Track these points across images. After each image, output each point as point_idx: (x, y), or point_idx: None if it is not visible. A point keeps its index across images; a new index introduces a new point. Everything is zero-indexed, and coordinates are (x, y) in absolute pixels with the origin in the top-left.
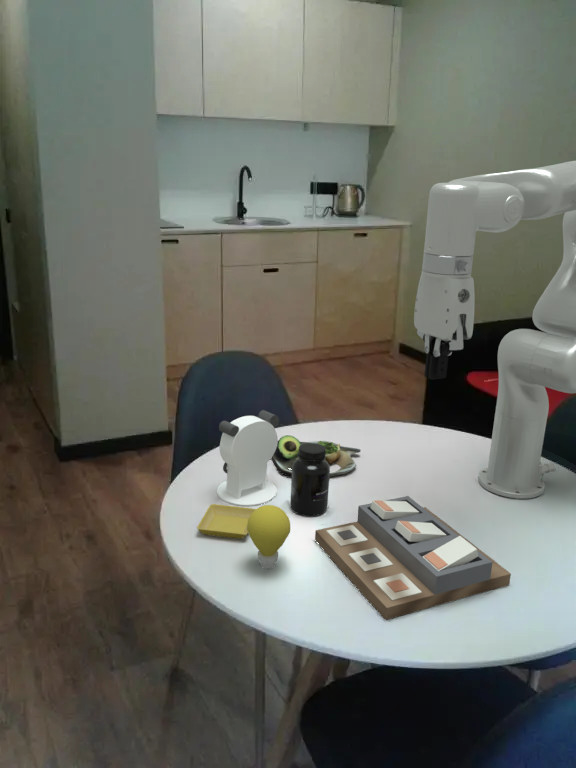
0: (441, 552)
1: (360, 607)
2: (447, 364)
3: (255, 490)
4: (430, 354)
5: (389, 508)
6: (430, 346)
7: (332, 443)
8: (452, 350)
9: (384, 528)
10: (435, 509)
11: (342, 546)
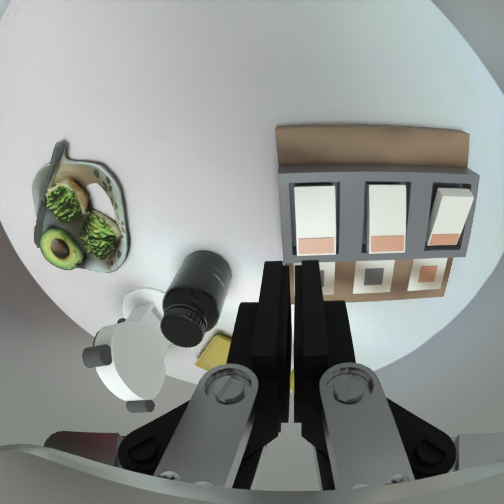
0: (441, 227)
1: (413, 299)
2: (323, 304)
3: (156, 311)
4: (279, 424)
5: (327, 242)
6: (259, 462)
7: (53, 191)
8: (423, 423)
9: (356, 259)
10: (258, 94)
11: (333, 291)
